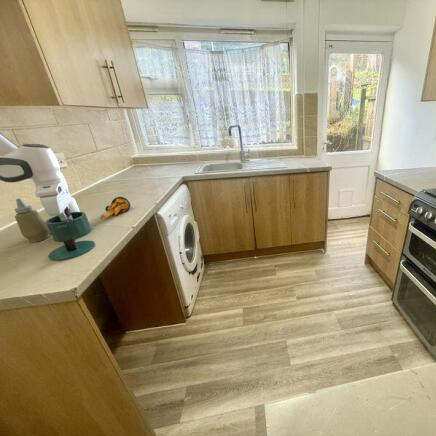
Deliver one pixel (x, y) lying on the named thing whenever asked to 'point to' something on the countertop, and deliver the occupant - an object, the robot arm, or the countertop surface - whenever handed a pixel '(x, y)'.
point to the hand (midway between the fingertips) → (66, 218)
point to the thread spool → (68, 214)
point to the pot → (69, 226)
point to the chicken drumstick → (117, 207)
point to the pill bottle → (73, 206)
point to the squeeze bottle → (30, 222)
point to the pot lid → (71, 249)
